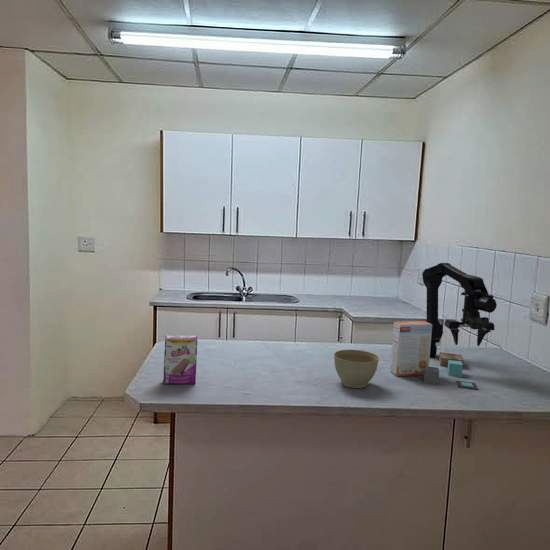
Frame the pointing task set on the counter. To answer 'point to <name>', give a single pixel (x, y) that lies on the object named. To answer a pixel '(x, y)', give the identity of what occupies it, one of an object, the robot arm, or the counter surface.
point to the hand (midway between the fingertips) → (467, 345)
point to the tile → (466, 385)
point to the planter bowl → (355, 367)
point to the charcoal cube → (431, 375)
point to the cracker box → (410, 348)
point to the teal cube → (455, 368)
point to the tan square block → (449, 358)
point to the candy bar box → (180, 359)
